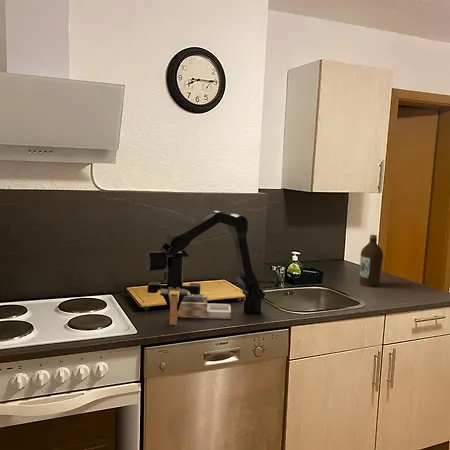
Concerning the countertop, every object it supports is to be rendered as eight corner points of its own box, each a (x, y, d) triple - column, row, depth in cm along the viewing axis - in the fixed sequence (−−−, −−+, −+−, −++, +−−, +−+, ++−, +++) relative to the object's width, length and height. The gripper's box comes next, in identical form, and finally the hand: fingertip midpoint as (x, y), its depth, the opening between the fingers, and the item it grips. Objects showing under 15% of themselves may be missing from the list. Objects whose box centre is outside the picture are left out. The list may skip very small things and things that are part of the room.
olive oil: (370, 281, 245) (375, 233, 242) (384, 286, 235) (389, 236, 232) (353, 282, 241) (357, 233, 237) (367, 288, 231) (371, 237, 228)
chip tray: (229, 310, 190) (230, 304, 190) (230, 318, 180) (231, 312, 180) (207, 309, 190) (207, 303, 189) (206, 318, 180) (207, 311, 179)
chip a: (203, 304, 186) (203, 294, 186) (203, 307, 182) (203, 297, 182) (193, 304, 186) (193, 294, 186) (192, 307, 182) (192, 297, 182)
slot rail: (206, 309, 190) (207, 296, 189) (206, 318, 180) (207, 303, 179) (179, 308, 189) (179, 295, 189) (177, 317, 179) (177, 302, 179)
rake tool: (177, 318, 178) (178, 292, 176) (176, 324, 171) (176, 297, 170) (170, 318, 177) (171, 292, 176) (169, 324, 171) (170, 297, 170)
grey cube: (191, 304, 186) (192, 294, 185) (191, 307, 182) (191, 297, 182) (181, 303, 186) (181, 293, 185) (180, 306, 182) (181, 296, 181)
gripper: (201, 264, 180) (200, 304, 182) (151, 263, 179) (150, 303, 182) (200, 272, 169) (199, 314, 171) (147, 270, 168) (146, 312, 171)
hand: (173, 310), depth 174 cm, fingers closed on rake tool, 2 cm apart
